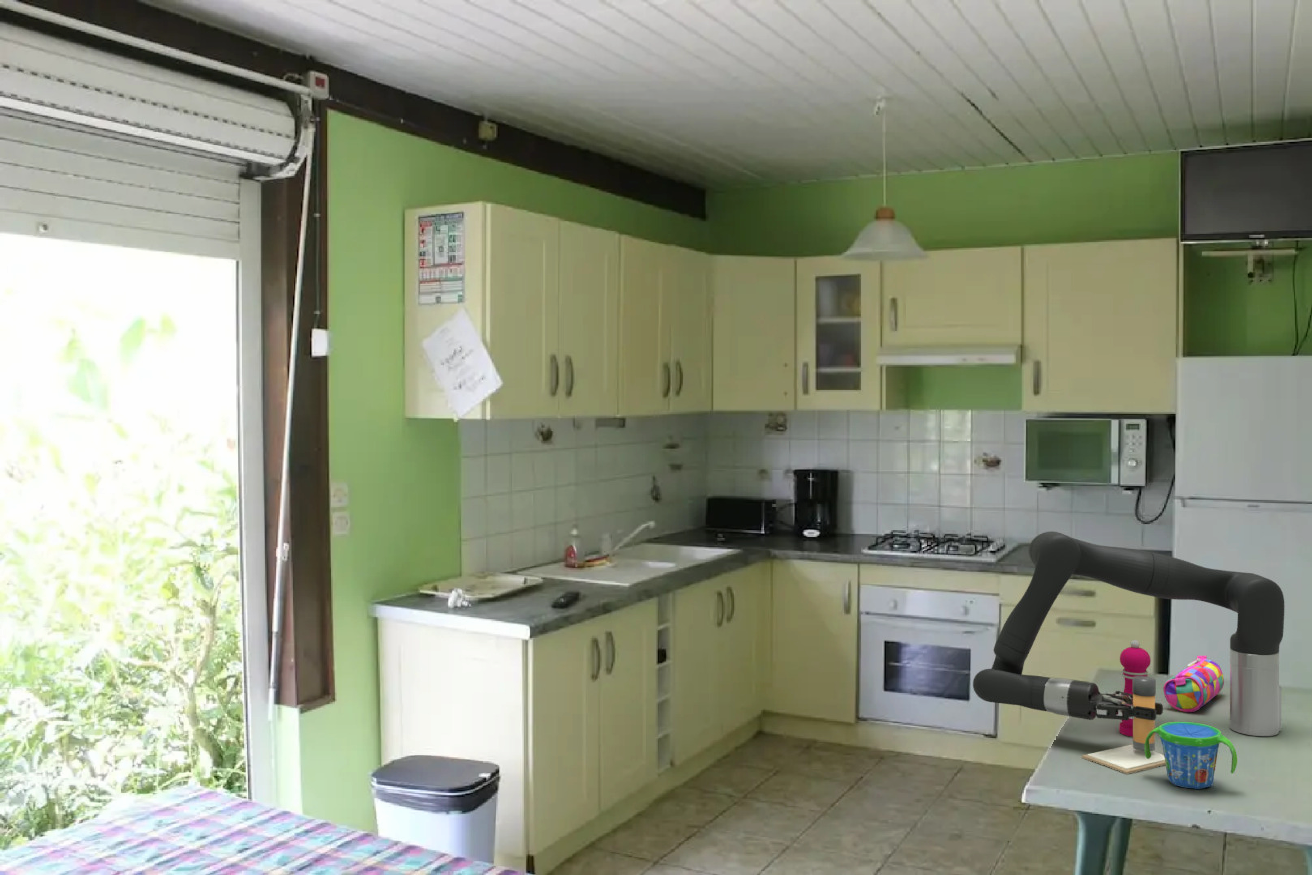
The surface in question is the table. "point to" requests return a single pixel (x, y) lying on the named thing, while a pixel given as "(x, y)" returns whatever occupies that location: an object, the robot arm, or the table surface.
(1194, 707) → the pencil case
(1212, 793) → the table surface
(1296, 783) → the table surface
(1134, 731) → the orange grey cylinder
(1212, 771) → the snack cup
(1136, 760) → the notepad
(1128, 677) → the pepper mill
